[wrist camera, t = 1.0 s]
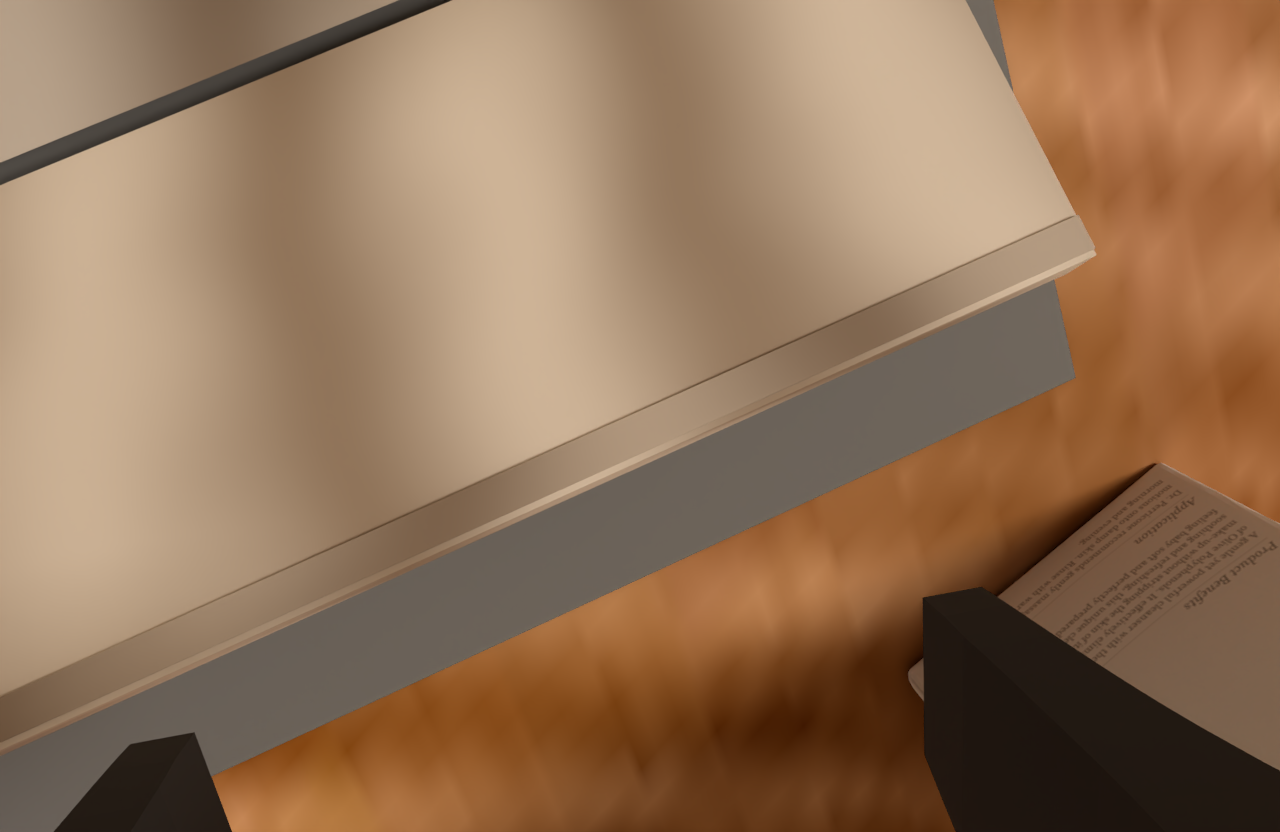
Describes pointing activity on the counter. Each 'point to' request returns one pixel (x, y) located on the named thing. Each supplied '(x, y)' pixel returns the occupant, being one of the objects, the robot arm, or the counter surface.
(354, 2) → the laid plank
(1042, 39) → the counter surface
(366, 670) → the underlay mat
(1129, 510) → the skincare box
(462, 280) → the loose plank
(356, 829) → the counter surface
